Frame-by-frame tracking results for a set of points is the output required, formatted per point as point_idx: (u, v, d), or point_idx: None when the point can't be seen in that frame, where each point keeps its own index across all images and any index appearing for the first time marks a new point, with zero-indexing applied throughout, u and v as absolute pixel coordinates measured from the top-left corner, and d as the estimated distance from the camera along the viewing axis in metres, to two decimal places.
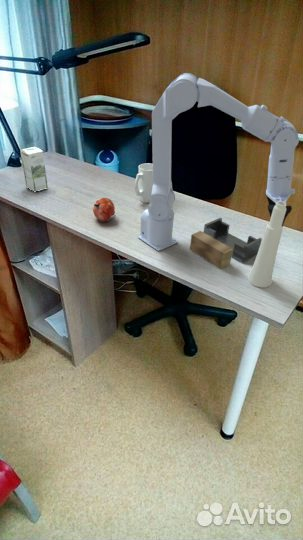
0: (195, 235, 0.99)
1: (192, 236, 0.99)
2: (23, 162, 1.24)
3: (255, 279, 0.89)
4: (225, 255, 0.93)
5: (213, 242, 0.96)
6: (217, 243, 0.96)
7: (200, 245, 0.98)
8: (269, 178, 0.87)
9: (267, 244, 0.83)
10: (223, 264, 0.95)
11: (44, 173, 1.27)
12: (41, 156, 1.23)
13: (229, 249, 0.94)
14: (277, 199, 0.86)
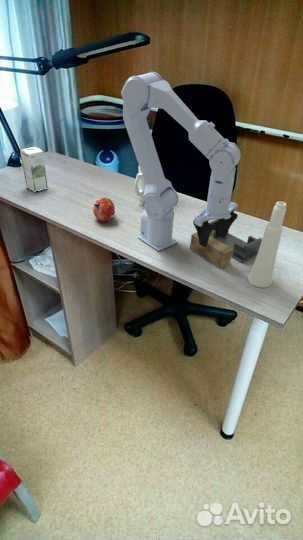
0: (195, 235, 0.99)
1: (192, 236, 0.99)
2: (23, 162, 1.24)
3: (255, 279, 0.89)
4: (225, 255, 0.93)
5: (213, 242, 0.96)
6: (217, 243, 0.96)
7: (200, 245, 0.98)
8: None
9: (267, 244, 0.83)
10: (223, 264, 0.95)
11: (44, 173, 1.27)
12: (41, 156, 1.23)
13: (229, 249, 0.94)
14: (202, 215, 0.89)
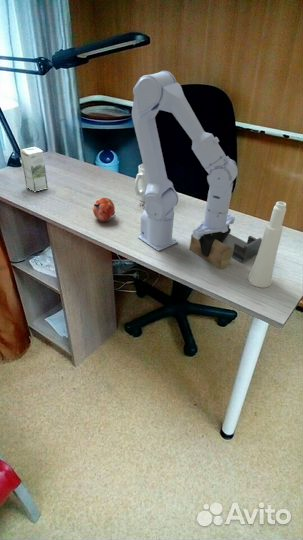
0: None
1: None
2: (23, 162, 1.24)
3: (255, 279, 0.89)
4: (225, 255, 0.93)
5: (213, 242, 0.96)
6: (217, 243, 0.96)
7: None
8: None
9: (267, 244, 0.83)
10: (223, 264, 0.95)
11: (44, 173, 1.27)
12: (41, 156, 1.23)
13: (229, 249, 0.94)
14: (200, 228, 0.91)
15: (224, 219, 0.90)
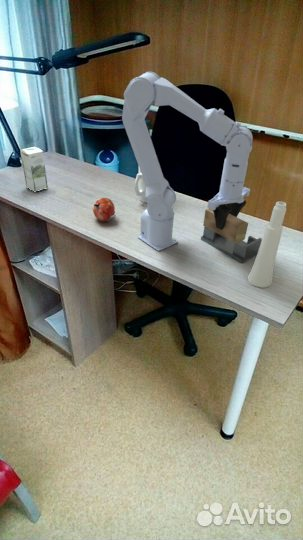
0: (209, 210, 0.97)
1: (206, 211, 0.98)
2: (23, 162, 1.24)
3: (255, 279, 0.89)
4: (240, 229, 0.91)
5: (228, 216, 0.95)
6: (232, 218, 0.94)
7: (214, 220, 0.96)
8: None
9: (267, 244, 0.83)
10: (238, 238, 0.93)
11: (44, 173, 1.27)
12: (41, 156, 1.23)
13: (244, 223, 0.92)
14: (216, 199, 0.89)
15: (240, 189, 0.88)
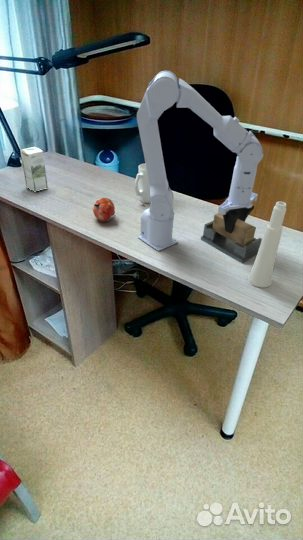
0: (218, 215, 1.02)
1: (215, 216, 1.02)
2: (23, 162, 1.24)
3: (255, 279, 0.89)
4: (248, 233, 0.96)
5: (236, 221, 0.99)
6: (240, 222, 0.99)
7: (223, 224, 1.01)
8: (231, 184, 0.94)
9: (267, 244, 0.83)
10: (246, 242, 0.97)
11: (44, 173, 1.27)
12: (41, 156, 1.23)
13: (252, 227, 0.97)
14: (225, 204, 0.94)
15: (249, 195, 0.92)
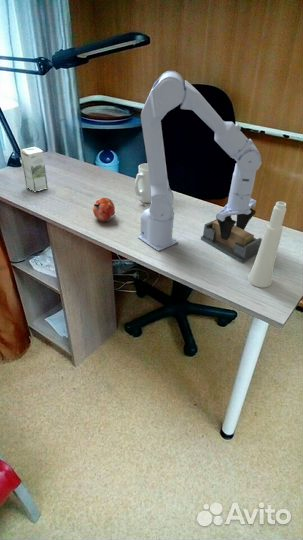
0: (217, 222, 1.03)
1: (214, 223, 1.03)
2: (23, 162, 1.24)
3: (255, 279, 0.89)
4: (247, 241, 0.97)
5: (234, 229, 1.01)
6: (238, 230, 1.00)
7: None
8: None
9: (267, 244, 0.83)
10: None
11: (44, 173, 1.27)
12: (41, 156, 1.23)
13: (250, 235, 0.98)
14: (224, 210, 0.95)
15: (247, 201, 0.94)
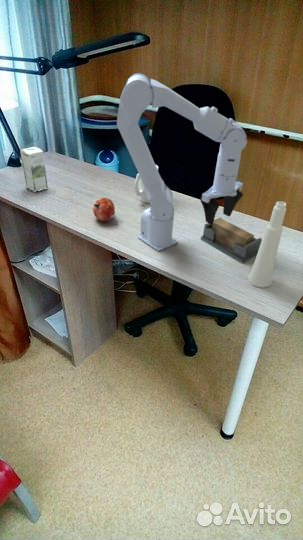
0: (217, 222, 1.03)
1: (214, 223, 1.03)
2: (23, 162, 1.24)
3: (255, 279, 0.89)
4: (247, 241, 0.97)
5: (234, 229, 1.01)
6: (238, 230, 1.00)
7: (221, 231, 1.02)
8: None
9: (267, 244, 0.83)
10: None
11: (44, 173, 1.27)
12: (41, 156, 1.23)
13: (250, 235, 0.98)
14: (209, 192, 0.93)
15: (233, 183, 0.92)
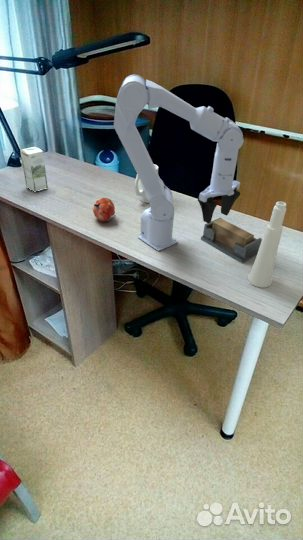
0: (217, 222, 1.03)
1: (214, 223, 1.03)
2: (23, 162, 1.24)
3: (255, 279, 0.89)
4: (247, 241, 0.97)
5: (234, 229, 1.01)
6: (238, 230, 1.00)
7: (221, 231, 1.02)
8: None
9: (267, 244, 0.83)
10: None
11: (44, 173, 1.27)
12: (41, 156, 1.23)
13: (250, 235, 0.98)
14: (207, 191, 0.93)
15: (230, 182, 0.92)
